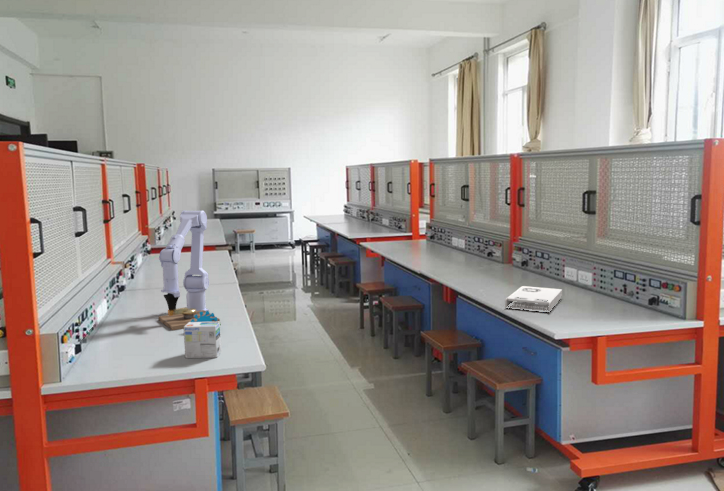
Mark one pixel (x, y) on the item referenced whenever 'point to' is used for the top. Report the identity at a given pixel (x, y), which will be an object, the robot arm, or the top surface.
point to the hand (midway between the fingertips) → (172, 311)
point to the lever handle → (182, 311)
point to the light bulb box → (202, 339)
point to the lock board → (181, 320)
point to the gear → (204, 317)
